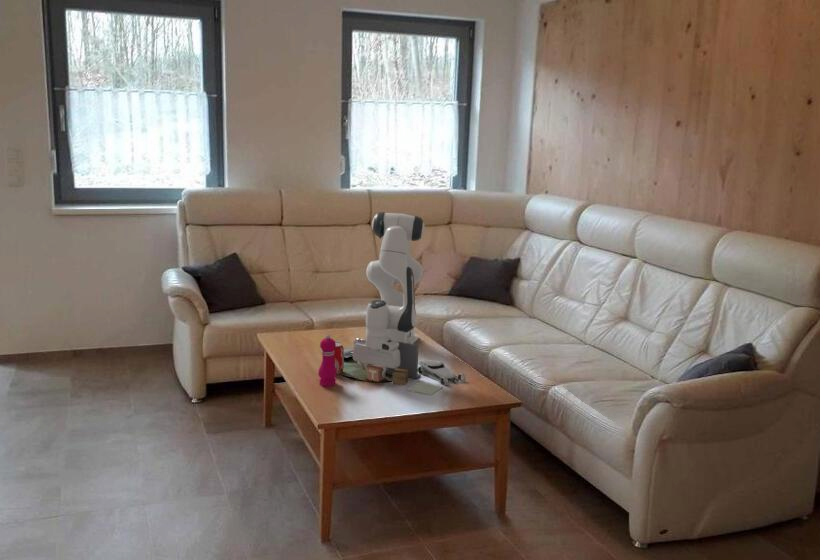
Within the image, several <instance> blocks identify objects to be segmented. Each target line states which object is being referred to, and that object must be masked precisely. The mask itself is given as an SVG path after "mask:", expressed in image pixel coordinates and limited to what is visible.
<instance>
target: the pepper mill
mask: <svg viewBox="0 0 820 560" xmlns="http://www.w3.org/2000/svg"><path fill="white" fill-rule="evenodd" d="M335 342H336V341H335V339H333V338H331V335H330V334H326V335H325V338H322V339H321V340H320V344H319V347H320V349H321V351H320V353H321V355H322V361H321V363H320V366H319V367H318V373H317V374H318V377H319V378H320V379H319V385H320V386H322V387H333V386H335V385H336V382H337V380H336V377H337V375H338V374H337V370H336V367H335V365H334V362H333V355H334V349H335V346H336V343H335Z"/></svg>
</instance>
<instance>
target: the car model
mask: <svg viewBox="0 0 820 560" xmlns="http://www.w3.org/2000/svg"><path fill="white" fill-rule="evenodd" d="M418 374H420V375H421V376H424V377H428V378H430V379H432V380H434V381H437V382H438V383H439V384H441V385H442V387H443V386H444V387H449V386H450V387H452V386H455V385H461V384H463V383H465V382H466V380H467V379H466V378H467V377H466V375H465V374H464V373H463V372H461V373H458V375H456V374H455V373H454V372H453V371H452V370H451V369H449V368H448V367H446V366H445V364H444V362H439V361H437V360H430V359H429V360H428V359H424V360H420V361H418ZM441 385H440V386H441Z"/></svg>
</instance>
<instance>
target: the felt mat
mask: <svg viewBox="0 0 820 560" xmlns="http://www.w3.org/2000/svg"><path fill="white" fill-rule="evenodd" d="M441 389H443V386H441V385H436V384H431V383H426V382H421V381H418V382H417V383H416V384H414V385H412V386H411V387H409V388H408V389H407V391H408V392H413V393H418V394H423V395H426V396H433V395H434V394H435V393H437V392H438V391H440V390H441Z"/></svg>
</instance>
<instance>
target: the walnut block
mask: <svg viewBox="0 0 820 560" xmlns="http://www.w3.org/2000/svg"><path fill="white" fill-rule="evenodd" d="M408 380H409V378H408V370H405V369H395V370H394V371H393V375H392V382H391V383H392V385H395V386H403V387H405V386H406V385H407V383H408V382H409V381H408Z"/></svg>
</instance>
